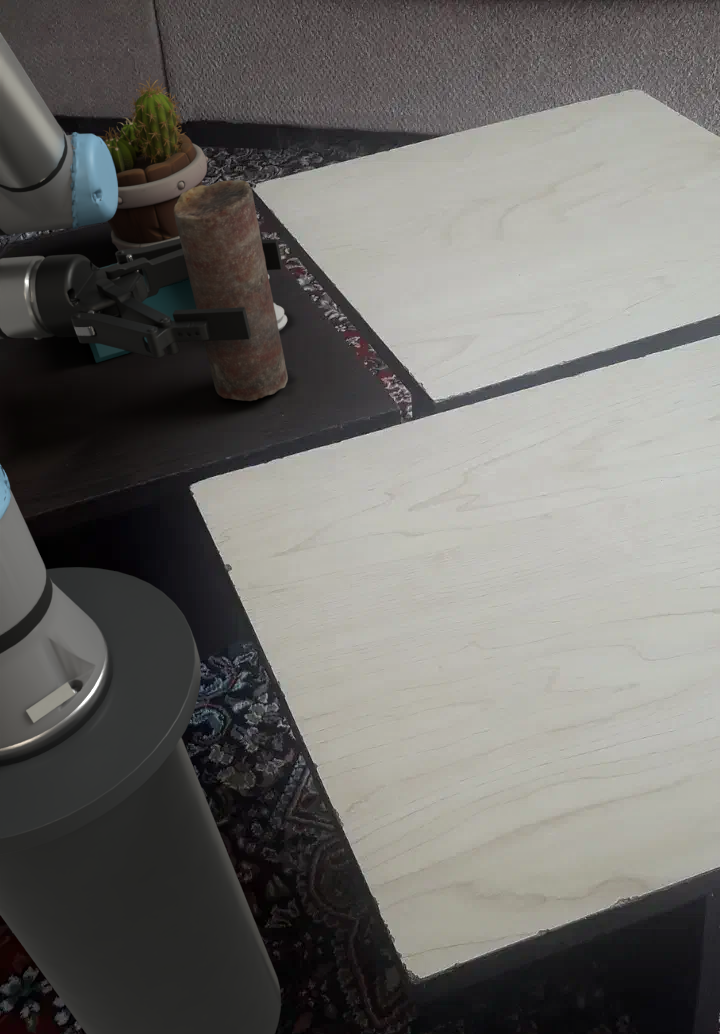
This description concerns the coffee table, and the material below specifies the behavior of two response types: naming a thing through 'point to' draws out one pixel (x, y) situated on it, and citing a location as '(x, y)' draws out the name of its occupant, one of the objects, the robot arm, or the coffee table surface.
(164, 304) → the teal tray
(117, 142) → the flowerpot
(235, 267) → the rusty brown cylinder
